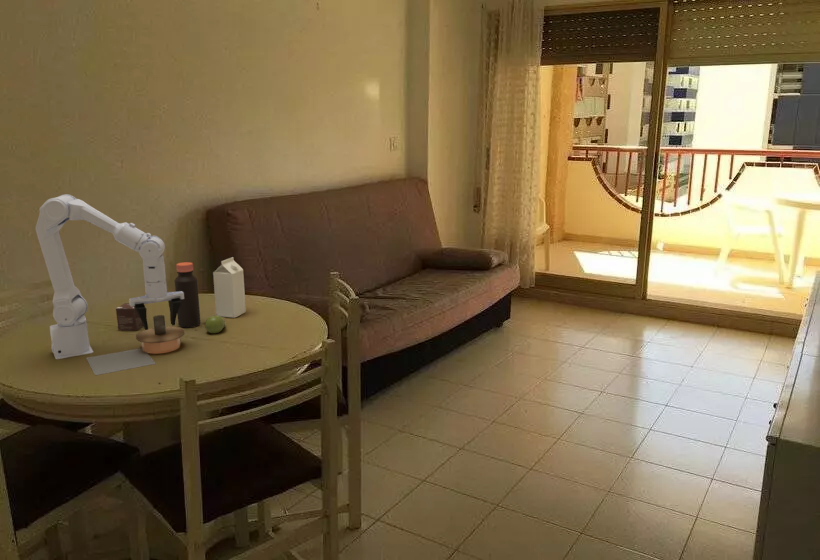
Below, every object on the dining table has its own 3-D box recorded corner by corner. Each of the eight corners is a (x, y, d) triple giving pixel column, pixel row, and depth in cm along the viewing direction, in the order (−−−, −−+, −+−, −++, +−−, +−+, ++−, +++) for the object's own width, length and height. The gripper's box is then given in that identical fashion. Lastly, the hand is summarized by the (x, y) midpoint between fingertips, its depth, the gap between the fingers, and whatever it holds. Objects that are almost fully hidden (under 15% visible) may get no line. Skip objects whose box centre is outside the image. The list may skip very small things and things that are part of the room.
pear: (202, 317, 202) (209, 313, 212) (203, 334, 202) (210, 330, 212) (221, 316, 202) (227, 312, 212) (222, 334, 203) (228, 329, 213)
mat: (95, 376, 171) (95, 375, 171) (86, 359, 183) (85, 357, 183) (156, 364, 179) (155, 363, 179) (143, 349, 191) (143, 347, 191)
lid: (140, 346, 182) (138, 326, 180) (132, 333, 192) (130, 314, 191) (189, 337, 188) (187, 318, 187) (178, 325, 199) (176, 307, 198)
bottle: (178, 322, 215) (173, 262, 210) (200, 320, 217) (195, 260, 212) (178, 329, 209) (172, 266, 204) (200, 327, 211) (195, 265, 206)
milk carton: (216, 316, 222) (211, 260, 217) (227, 310, 229) (224, 256, 224) (234, 318, 220) (231, 262, 215) (246, 312, 227) (242, 257, 222)
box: (145, 325, 213) (143, 303, 211) (136, 331, 207) (134, 308, 205) (127, 324, 213) (125, 302, 211) (117, 330, 207) (115, 308, 206)
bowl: (147, 357, 185) (146, 343, 184) (139, 346, 193) (138, 333, 192) (184, 350, 190) (183, 336, 189) (174, 340, 198) (173, 327, 197)
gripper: (130, 286, 179) (135, 334, 183) (185, 279, 187) (189, 325, 190) (125, 281, 185) (130, 328, 188) (178, 274, 193) (182, 319, 196)
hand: (159, 326), depth 190 cm, fingers open, 7 cm apart
